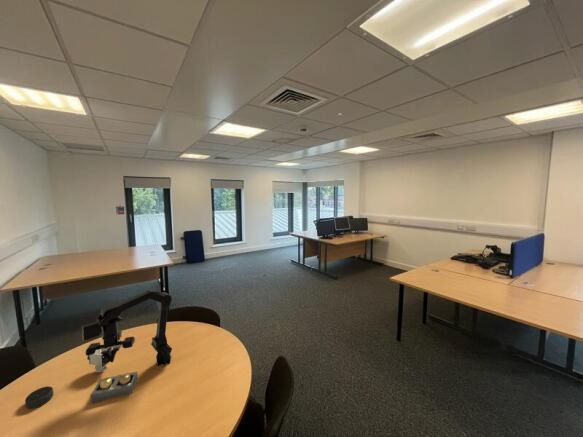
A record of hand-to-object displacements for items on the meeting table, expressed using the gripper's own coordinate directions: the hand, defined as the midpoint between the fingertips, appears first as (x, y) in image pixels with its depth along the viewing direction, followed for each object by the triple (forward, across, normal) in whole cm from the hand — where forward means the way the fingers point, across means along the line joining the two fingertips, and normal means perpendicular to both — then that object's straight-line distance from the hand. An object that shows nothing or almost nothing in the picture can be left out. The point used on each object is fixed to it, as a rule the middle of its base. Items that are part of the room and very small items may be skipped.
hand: (112, 361), depth 119 cm
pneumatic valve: (+13, +10, -15) cm, 22 cm away
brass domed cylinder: (+12, +2, +4) cm, 13 cm away
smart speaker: (+13, +29, -1) cm, 32 cm away
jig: (+12, -2, +4) cm, 13 cm away
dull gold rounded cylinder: (+12, -6, +4) cm, 14 cm away
